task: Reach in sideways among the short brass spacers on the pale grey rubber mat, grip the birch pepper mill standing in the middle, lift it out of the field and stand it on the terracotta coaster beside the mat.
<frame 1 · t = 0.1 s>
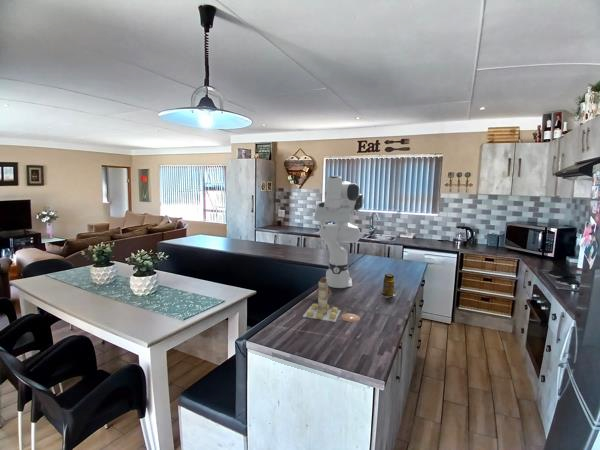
hand: (332, 229, 175), 39 cm above the counter, tool pointing down, fingers open, 8 cm apart
pepper mill: (322, 313, 156), point 1 cm above the counter, touching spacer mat
coaster: (350, 318, 152), on the counter
condiment: (386, 295, 186), on the counter
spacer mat: (322, 314, 156), on the counter
cupcake: (323, 300, 175), on the counter
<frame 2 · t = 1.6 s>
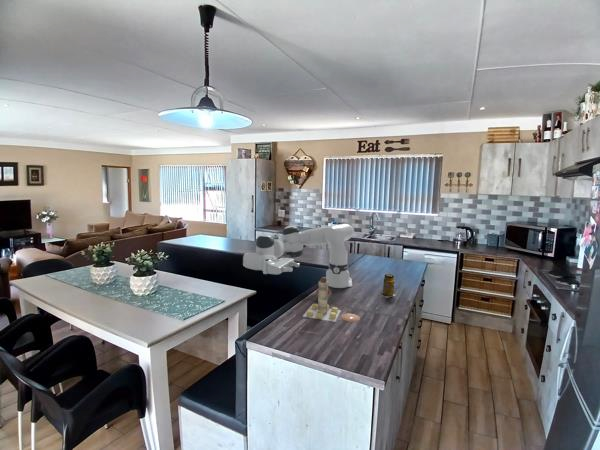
hand: (295, 267, 158), 22 cm above the counter, tool horizontal, fingers open, 8 cm apart
nothing on the counter moved.
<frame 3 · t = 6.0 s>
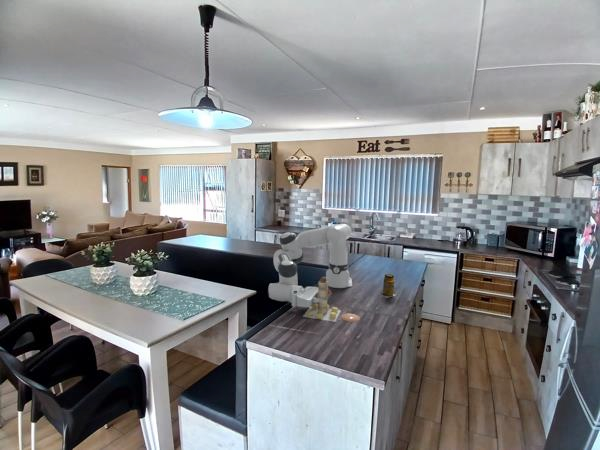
hand: (324, 298, 155), 9 cm above the counter, tool horizontal, fingers closed on pepper mill, 5 cm apart
pepper mill: (322, 313, 156), point 1 cm above the counter, touching gripper, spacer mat
everything else where it was.
when the fingers open (10 cm above the counter, at t = 10.1 s): pepper mill drops 1 cm, resting on coaster.
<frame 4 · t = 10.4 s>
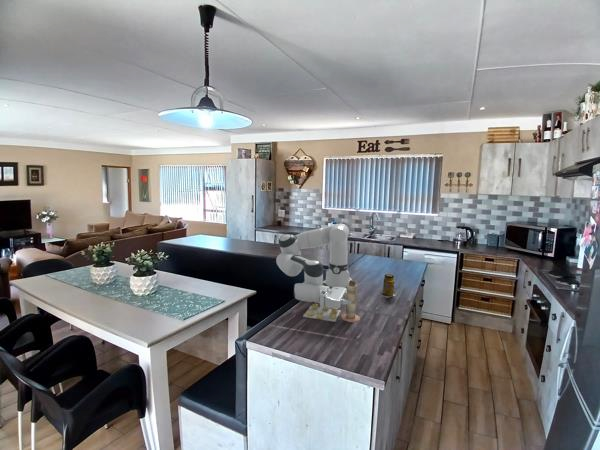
hand: (353, 299, 150), 10 cm above the counter, tool horizontal, fingers open, 7 cm apart
pepper mill: (350, 317, 152), point 1 cm above the counter, touching coaster
everything else where it was.
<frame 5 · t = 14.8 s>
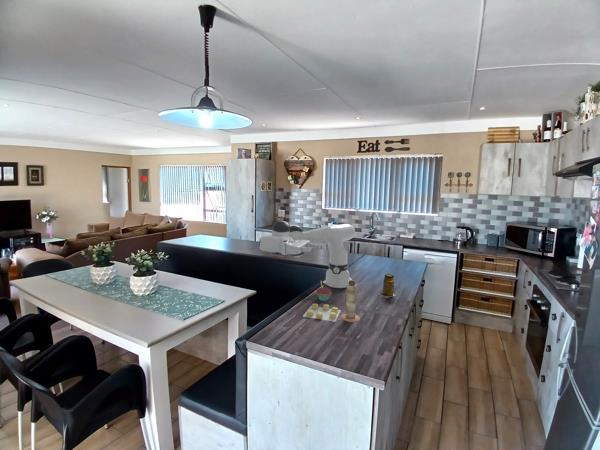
hand: (313, 247, 159), 32 cm above the counter, tool horizontal, fingers open, 8 cm apart
nothing on the counter moved.
at the end: pepper mill inside the target area on the coaster (0.1 cm from its centre), point 0.8 cm above the coaster's base; pepper mill tilted 0°; the gripper is holding nothing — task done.
